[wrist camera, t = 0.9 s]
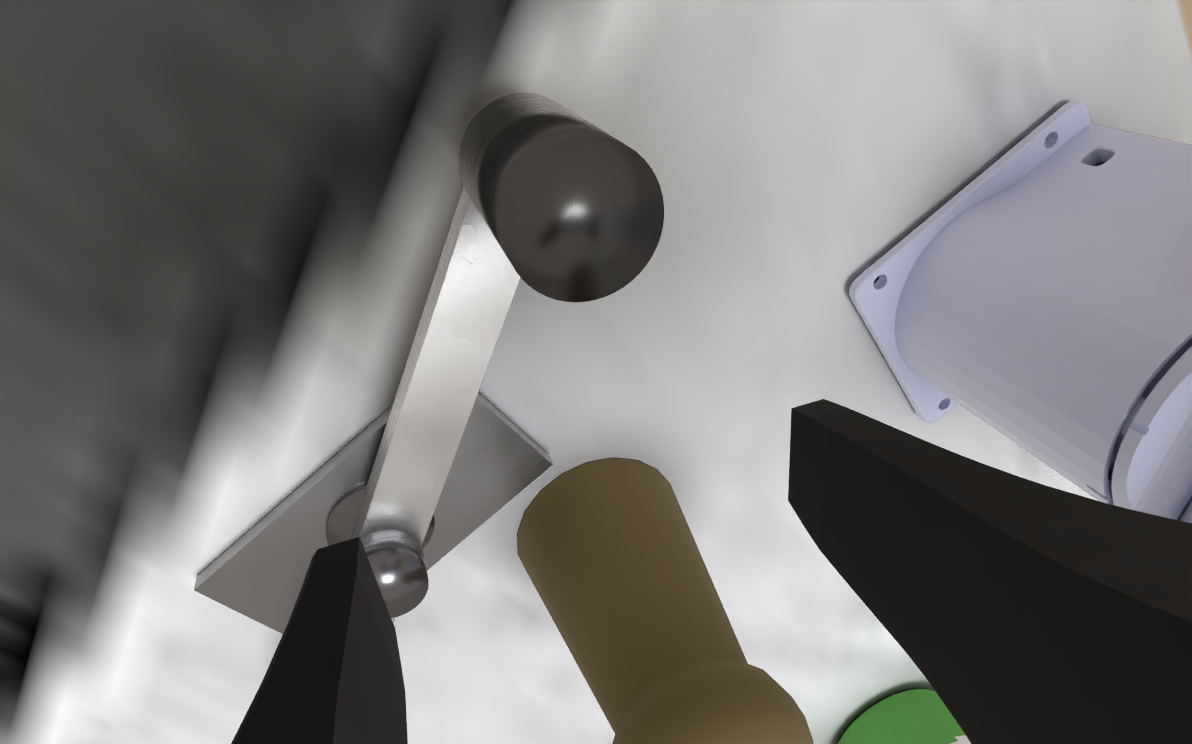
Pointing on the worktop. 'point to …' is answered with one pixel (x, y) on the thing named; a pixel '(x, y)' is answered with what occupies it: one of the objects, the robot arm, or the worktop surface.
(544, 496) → the cork
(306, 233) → the worktop surface
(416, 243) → the worktop surface
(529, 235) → the lever
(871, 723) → the wine bottle
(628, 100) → the worktop surface
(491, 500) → the base plate
